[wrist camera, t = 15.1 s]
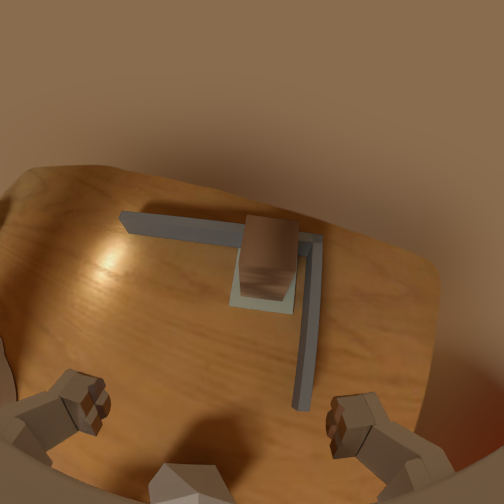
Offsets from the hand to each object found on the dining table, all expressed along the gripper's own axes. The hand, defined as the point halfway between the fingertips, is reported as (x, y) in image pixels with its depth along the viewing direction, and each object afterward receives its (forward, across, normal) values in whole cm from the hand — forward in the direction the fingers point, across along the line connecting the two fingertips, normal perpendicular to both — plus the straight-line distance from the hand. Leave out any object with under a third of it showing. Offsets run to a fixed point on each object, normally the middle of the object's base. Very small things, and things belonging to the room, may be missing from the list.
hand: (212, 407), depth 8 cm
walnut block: (+25, -3, +5) cm, 26 cm away
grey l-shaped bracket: (+23, +5, +8) cm, 25 cm away
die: (+9, +4, +25) cm, 27 cm away
